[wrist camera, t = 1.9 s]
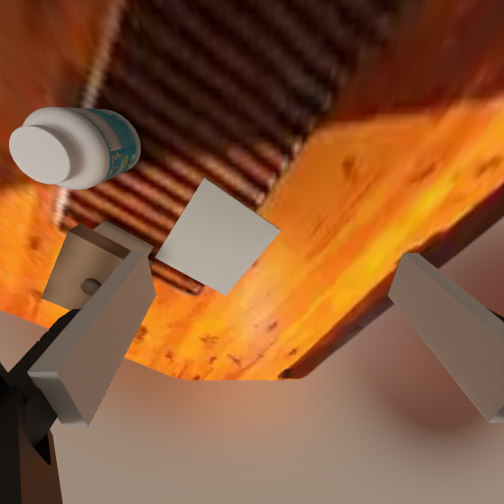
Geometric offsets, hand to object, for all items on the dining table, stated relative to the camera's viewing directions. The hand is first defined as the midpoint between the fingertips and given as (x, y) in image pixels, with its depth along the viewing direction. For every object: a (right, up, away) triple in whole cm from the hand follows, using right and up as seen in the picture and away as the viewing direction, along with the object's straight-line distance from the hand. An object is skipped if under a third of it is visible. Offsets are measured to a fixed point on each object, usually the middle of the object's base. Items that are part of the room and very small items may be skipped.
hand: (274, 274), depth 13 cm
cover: (-24, -2, +24) cm, 34 cm away
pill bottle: (-19, +16, +20) cm, 32 cm away
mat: (-7, +3, +27) cm, 28 cm away
